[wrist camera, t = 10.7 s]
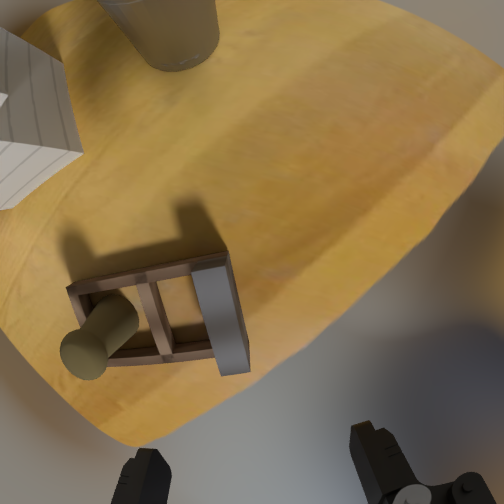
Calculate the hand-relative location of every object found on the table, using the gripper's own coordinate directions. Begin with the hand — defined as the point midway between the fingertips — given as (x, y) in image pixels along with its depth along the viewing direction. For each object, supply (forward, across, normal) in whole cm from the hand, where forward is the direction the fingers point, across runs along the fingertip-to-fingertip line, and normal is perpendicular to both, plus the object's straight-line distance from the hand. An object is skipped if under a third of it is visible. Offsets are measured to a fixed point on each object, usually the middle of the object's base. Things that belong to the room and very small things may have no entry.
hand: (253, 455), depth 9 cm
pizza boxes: (+23, +30, -22) cm, 44 cm away
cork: (+22, +17, +2) cm, 28 cm away
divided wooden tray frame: (+22, +11, +2) cm, 25 cm away
